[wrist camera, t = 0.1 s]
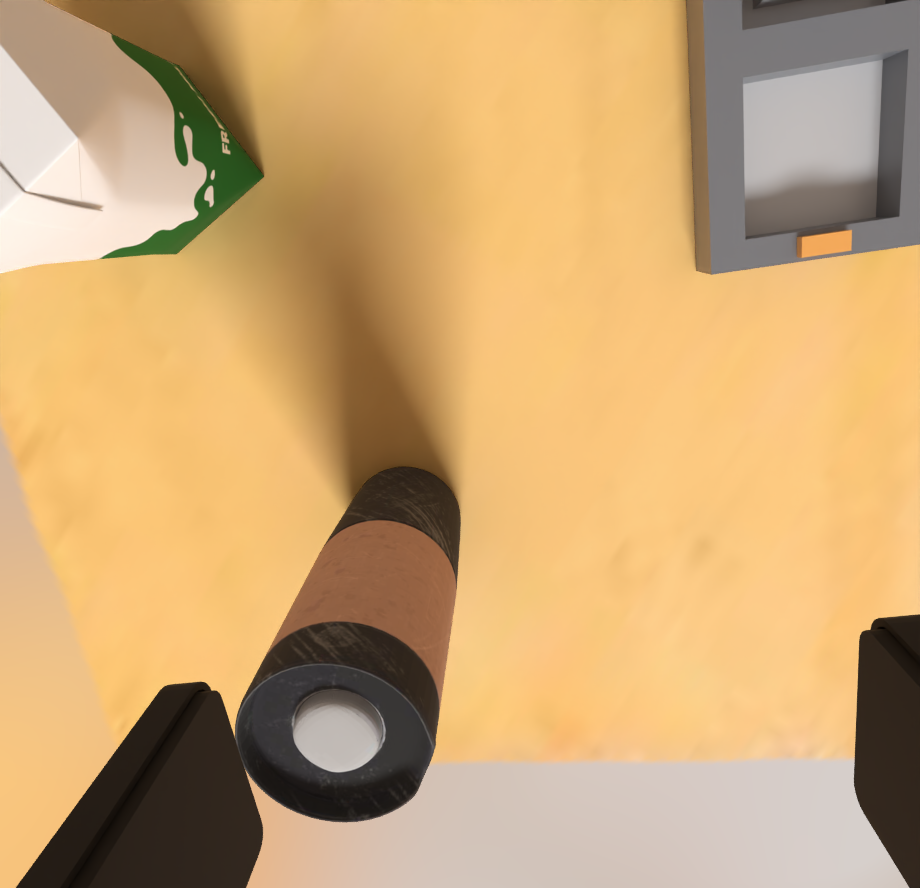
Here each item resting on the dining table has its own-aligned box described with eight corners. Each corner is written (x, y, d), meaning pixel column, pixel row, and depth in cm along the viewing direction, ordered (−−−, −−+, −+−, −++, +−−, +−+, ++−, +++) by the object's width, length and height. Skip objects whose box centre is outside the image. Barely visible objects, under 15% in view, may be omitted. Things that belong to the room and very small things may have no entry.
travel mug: (327, 490, 43) (189, 703, 24) (431, 442, 41) (372, 628, 22) (384, 584, 45) (298, 849, 26) (484, 541, 43) (471, 789, 24)
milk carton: (69, 148, 37) (-383, 70, 18) (181, 36, 35) (-197, -185, 16) (177, 277, 39) (-130, 328, 20) (289, 179, 37) (65, 132, 18)
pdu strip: (680, -163, 31) (701, -208, 28) (928, -216, 30) (979, -269, 27) (696, 270, 37) (714, 275, 34) (902, 240, 36) (941, 242, 33)
